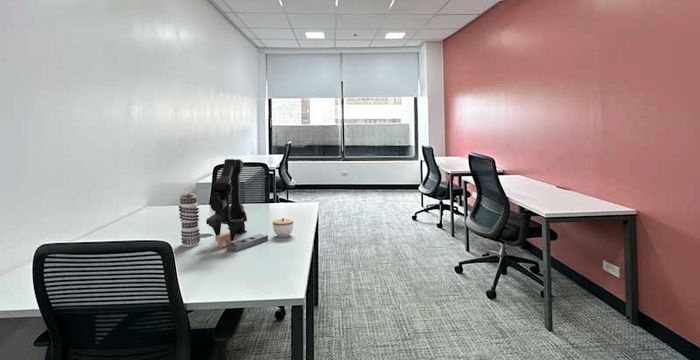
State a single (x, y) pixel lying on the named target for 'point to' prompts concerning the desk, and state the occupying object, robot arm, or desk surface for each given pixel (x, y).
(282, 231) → the lidded jar
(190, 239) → the ribbed stacked tower
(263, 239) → the rail
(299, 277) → the desk surface
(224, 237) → the peach rectangular block
